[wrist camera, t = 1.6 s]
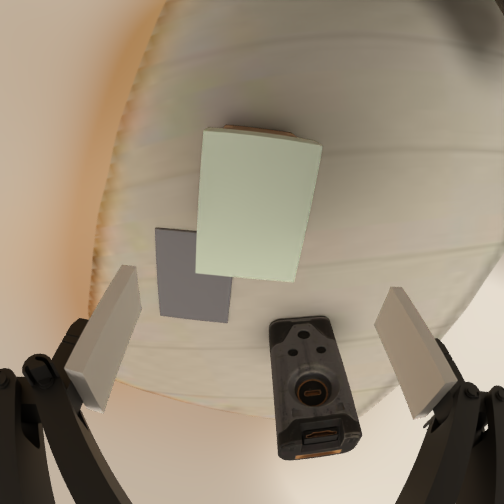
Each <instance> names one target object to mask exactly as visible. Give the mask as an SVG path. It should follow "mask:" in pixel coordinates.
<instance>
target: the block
mask: <svg viewBox="0 0 504 504" xmlns="http://www.w3.org/2000/svg"><path fill="white" fill-rule="evenodd" d="M322 148H323V146H322V145H321V144H319V143H317V142H316V141H314V140H308V139H302V138H296V137H290V136H283V135H276V134H269V133H261V132H253V131H244V130H234V129H223V128H211V127H208V128H207V129H206V130H204V132H203V144H202V156H201V169H200V183H199V199H198V218H197V240H196V272H195V273H198V274H208V275H218V276H228V277H238V278H249V279H260V280H271V281H283V282H294V280H295V276H296V271H297V267H298V263H299V259H300V254H301V250H302V246H303V241H304V237H305V232H306V228H307V223H308V218H309V214H310V209H311V204H312V199H313V194H314V189H315V184H316V179H317V174H318V169H319V164H320V159H321V153H322Z"/></svg>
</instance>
